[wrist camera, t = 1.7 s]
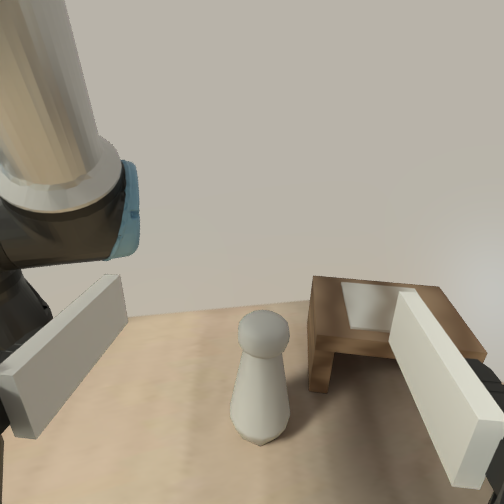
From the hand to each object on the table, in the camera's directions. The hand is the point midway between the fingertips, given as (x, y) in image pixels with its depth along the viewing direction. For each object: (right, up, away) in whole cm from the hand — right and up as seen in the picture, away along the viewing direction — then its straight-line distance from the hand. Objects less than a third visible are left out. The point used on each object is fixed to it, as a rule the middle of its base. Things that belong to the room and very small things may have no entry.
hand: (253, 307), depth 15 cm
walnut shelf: (+15, -11, +25) cm, 31 cm away
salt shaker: (+1, -15, +17) cm, 22 cm away
